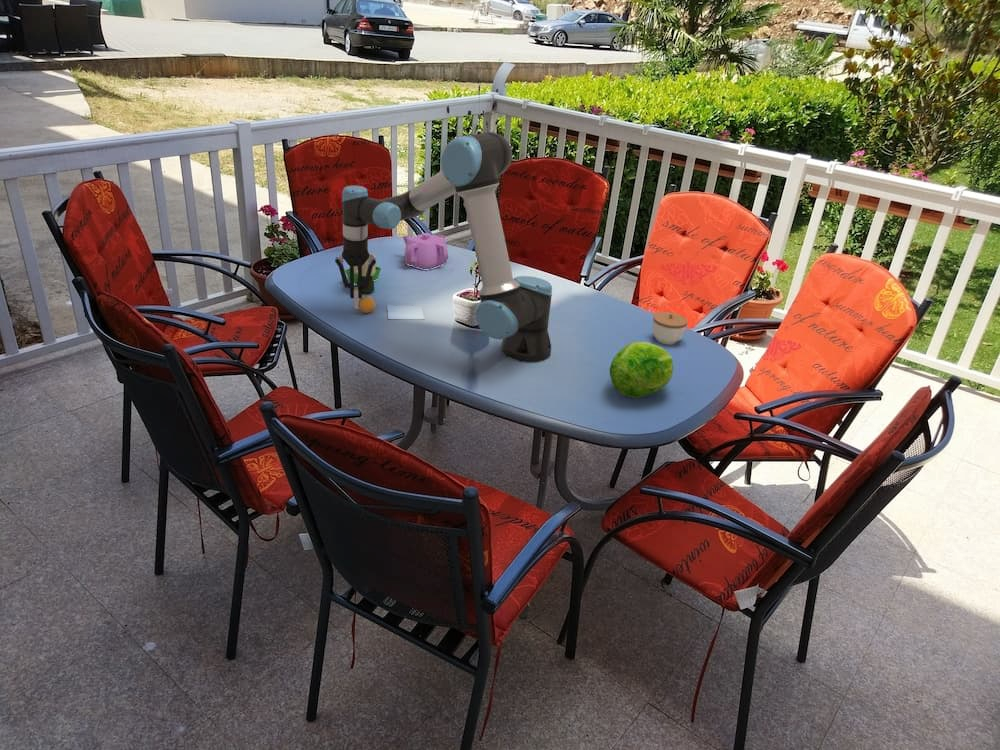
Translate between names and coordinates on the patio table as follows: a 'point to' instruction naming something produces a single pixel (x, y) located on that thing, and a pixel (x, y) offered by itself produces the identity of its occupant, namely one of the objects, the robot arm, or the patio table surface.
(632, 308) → the patio table surface
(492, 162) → the robot arm
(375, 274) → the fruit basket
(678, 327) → the lidded jar
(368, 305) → the ball
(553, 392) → the patio table surface
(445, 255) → the pink squat rounded shape
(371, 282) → the character mug
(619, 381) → the lettuce
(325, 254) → the patio table surface
